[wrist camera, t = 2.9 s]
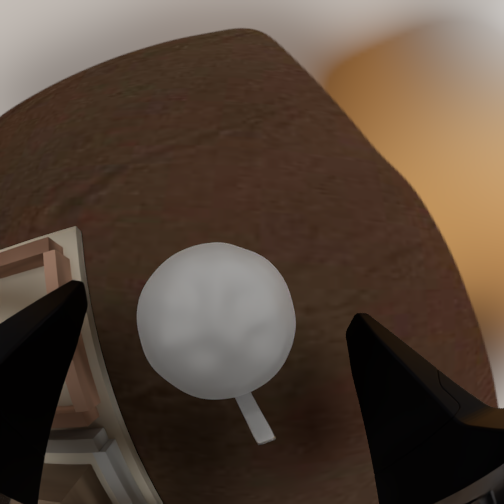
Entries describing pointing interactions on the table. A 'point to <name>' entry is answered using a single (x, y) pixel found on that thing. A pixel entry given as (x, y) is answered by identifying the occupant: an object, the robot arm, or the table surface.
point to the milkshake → (218, 325)
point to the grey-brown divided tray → (76, 387)
